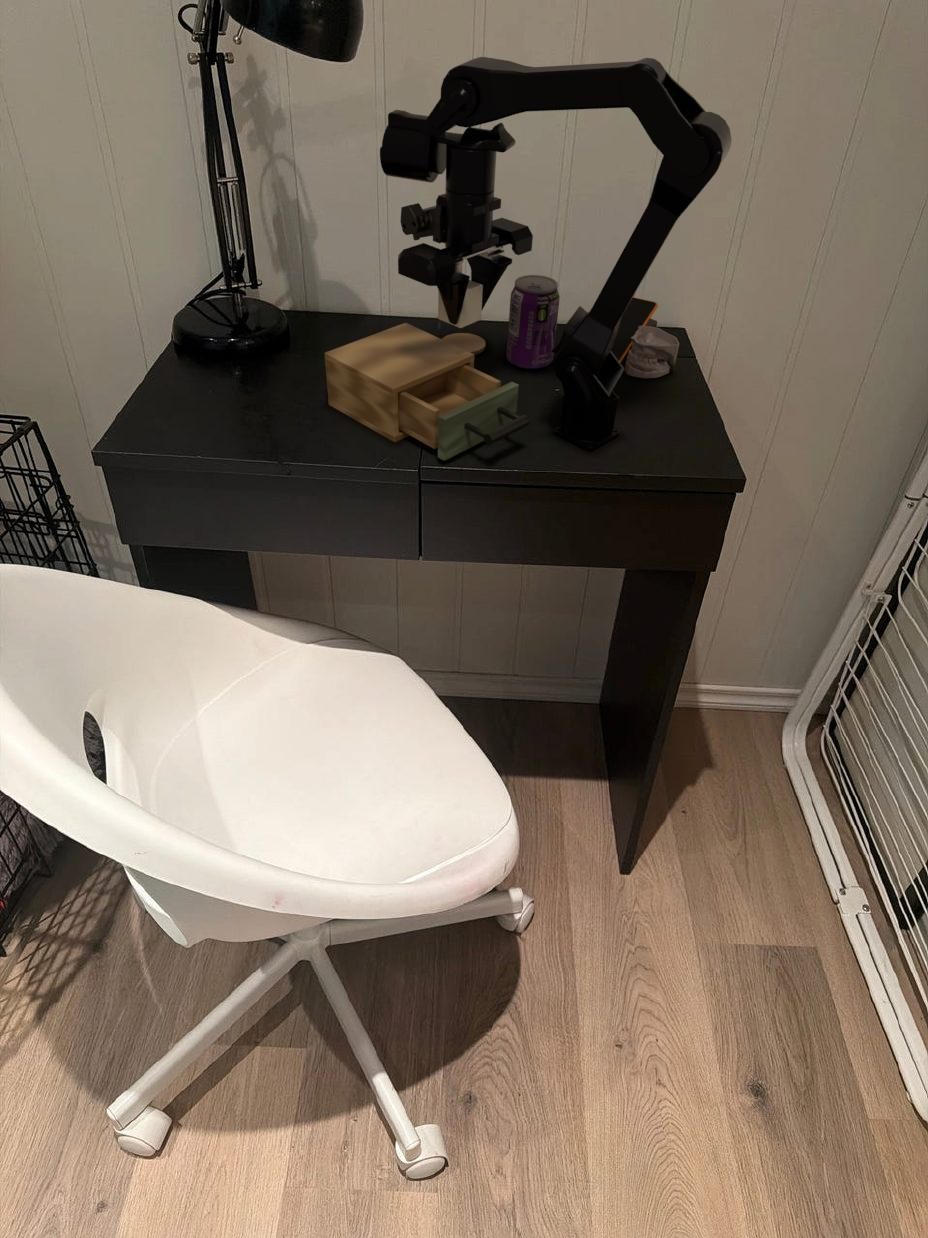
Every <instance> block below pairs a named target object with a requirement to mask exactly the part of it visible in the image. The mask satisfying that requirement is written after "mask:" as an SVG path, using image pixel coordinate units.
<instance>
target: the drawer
mask: <svg viewBox="0 0 928 1238" xmlns="http://www.w3.org/2000/svg"><path fill="white" fill-rule="evenodd" d="M501 384H502V380H499V379H497V378H495V377H493V376H491V375H489V374H486V373H485V372H483V371H480V370H478V369H476V368H475V367H474V368H472V367H470V366H468V365H466V364H463V365H461V366H459V367H457V368H454V369H452V370H450V371H447V372H445V373H443V374H440V375H438V376H436V377H433V378H431V379H429V380H426V381H424V382H422V383H419V384H417V385H415V386H412V387H410V388H408V389H405V390H403V391H401V392H399V393H398V423H399V430H401V431H403V432H405V433H406V434H408V435H410V436H409V437H412V438H414V439H415V440H417V441H419V442H421V443H423V444H424V445H426V446H427V447H429V448H431V449H433V450H435V449H437V458H438V459H440V460H442V461H444V462H446V461H447V460H449V459H451V458H453V457H455V456H457V455H459V454H461V453H463V452H465V451H467V450H469V449H470V448H473V447H475V446H477V445H479V444H480V443H483V442H485V444H486V445H488V446H489V445H490V446H491V445H493V444H494V443H497V442H499V441H501V440H502V439H504V438H506V437H508V436H510V435H512V434H514V433H516V432H518V431H520V430H522V429H523V428H525V427H527V426H529V425H530V424H531V419H530V417H529V416H528V415H527V414H522V415H518V414H517V411H518V401H519V389H520V388H519V387H520V384H518V383H516V382H514V381H510V382H508V383H506V384H504V385H502V386H501Z"/></svg>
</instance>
